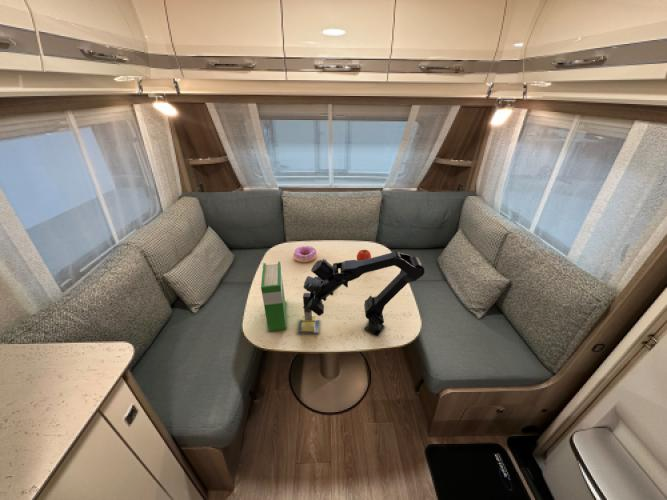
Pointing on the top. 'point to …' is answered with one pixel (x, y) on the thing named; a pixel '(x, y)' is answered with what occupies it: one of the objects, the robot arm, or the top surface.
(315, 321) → the butter dish
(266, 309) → the hardback book
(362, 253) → the apple
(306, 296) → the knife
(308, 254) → the donut
